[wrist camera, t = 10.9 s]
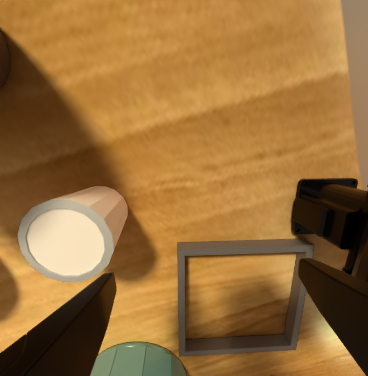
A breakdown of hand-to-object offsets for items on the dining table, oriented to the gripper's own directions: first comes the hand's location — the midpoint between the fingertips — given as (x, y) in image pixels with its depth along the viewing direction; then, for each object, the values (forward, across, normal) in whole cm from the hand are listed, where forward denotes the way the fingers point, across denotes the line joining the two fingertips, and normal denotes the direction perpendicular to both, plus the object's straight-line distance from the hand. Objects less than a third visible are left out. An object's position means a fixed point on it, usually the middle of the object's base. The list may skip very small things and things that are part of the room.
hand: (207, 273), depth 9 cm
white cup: (+12, +10, +1) cm, 16 cm away
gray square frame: (+12, -6, +13) cm, 19 cm away
